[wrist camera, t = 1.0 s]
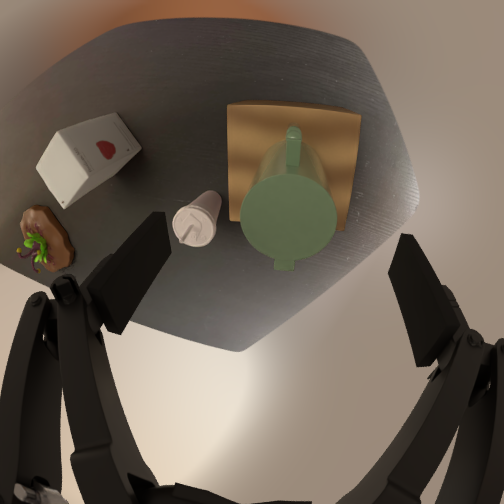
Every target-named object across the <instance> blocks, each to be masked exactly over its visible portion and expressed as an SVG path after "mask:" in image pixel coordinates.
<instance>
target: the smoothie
mask: <svg viewBox="0 0 504 504" xmlns="http://www.w3.org/2000/svg"><path fill="white" fill-rule="evenodd" d="M221 204H222V199H221V196H220V195H219V194H218V193H217V192H215V191H211V190H210V191H206V192H204V193H203V194H202V195H200V196H199V197H198V198H197V199H195V200H194V201H193V202H192V203H190V204H189V205H188V206H185V207H183V208H181V209H180V210H179V211H178V212H177V213H176V215H175V216H174V219H173V230H174V232H175V234H176V236H177V237H178V238H179V239H180V240H179V242H180V243H181V244H182V243H183V242H184V243H185V244H187V245H190V246H194V247H201V246H204V245H206V244H208V243H209V242H210V241H211V240H212V238H213V237H214V236H215V233H216V221H217V218H218V214H219V211H220V207H221Z"/></svg>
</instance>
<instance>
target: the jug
mask: <svg viewBox="0 0 504 504" xmlns="http://www.w3.org/2000/svg"><path fill="white" fill-rule="evenodd" d="M240 223H241V228H242V230H243V233H244V235H245V236H246V238H247V240H248V241H249V242H250V243H251V245H252V246H253V247H254V248H256V249H257V250H258V251H260V252H261V253H263V254H265V255H267V256H269V257H271V258H274V270H284V271H294V266H295V260H301V259H305V258H308V257H311V256H313V255H315V254H316V253H318V252H319V251H321V250H322V249H323V248H324V247H325V246H326V245H327V244H328V243H329V242H330V240H331V239H332V237H333V235H334V233H335V230H336V226H337V211H336V206H335V203H334V200H333V196H332V193H331V190H330V186H329V183H328V180H327V177H326V174H325V171H324V168H323V165H322V162H321V159H320V157H319V155H318V154H317V152H316V151H315V150H314V149H313V148H312V147H311V146H309V145H308V144H306V143H304V142H302V133H301V127H300V125H299V124H298V123H296V122H292V123H290V124H289V125H288V127H287V132H286V140H284V141H280V142H277V143H275V144H274V145H272V146H271V147H270V148H269V149H268V150H267V151H266V152H265V153H264V155H263V157H262V159H261V161H260V164H259V166H258V168H257V170H256V173H255V175H254V177H253V179H252V181H251V184H250V186H249V188H248V190H247V193H246V195H245V197H244V199H243V202H242V205H241V209H240Z"/></svg>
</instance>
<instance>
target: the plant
mask: <svg viewBox="0 0 504 504" xmlns="http://www.w3.org/2000/svg"><path fill="white" fill-rule="evenodd" d="M20 226H21V229H22V232H23V235H24V238H25V242H24V245H25V246H26V247H29V248H31V250H30V251H29V253H27V254H26V255H24V256H21V252H22V251H21V248H18V249H17V254H18V256H19V257H20V258H22V259H23V258H28V257H29V256H32V261H31V262H32V263H31V264H32V268H33V270H34V271H35V272H36V273H40V269H37V270H35V269H34V261H35V262H37V261H39V262H40V263H42V264H43V265H44V266H45V267H46V269H47V270H49V271H51V272H56V271H57V270H58V269H61V268H63V267H68V266H69V265H70V264H71V263H72V260H73V258H74V250H75V249H74V248H73V247H72V245H71V244H70V242H69V239H68V234H67V232H66V231H65V230H64V228H63V227H62V226H61V224H60V223H59V222H58V220H57V219H56V218H55V216H54V215H53V213H52V212H51V210H50V209H49V208H48V207H42V206H39V205H34V206H32V207H31V208H29V209H28V210H27V211H25V212H24V213H23V219H22V221H21V223H20Z"/></svg>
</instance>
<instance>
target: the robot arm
mask: <svg viewBox="0 0 504 504" xmlns="http://www.w3.org/2000/svg"><path fill="white" fill-rule="evenodd" d="M171 253H172V252H171V246H170V240H169V235H168V229H167V222H166V216H165V212H152V213H151V214H150V215H149V216H148V217H147V218H146V220H145V221H144V222H143V223H142V224H141V225H140V226H139V227H138V228H137V229H136V230H135V231H134V232H133V233H132V234H131V235H130V237H129V238H128V239H127V240H126V241H125V242H124V243H123V244H122V245H121V246H120V248H119V249H118V250H117V251H116V252H115V253H114V254H110V255H108V256H107V257H105V258H104V259H103V260H102V261H101V262H100V263H99V264H98V265H97V267H96V268H95V269H94V270H93V272H91V273H90V275H89V276H88V277H87V278H86V279H85V281H84V282H83V283H82V284H81V285H80V287H79V286H78V283H77V281H76V279H75V277H74V276H73V275H72V274H66V275H62V276H60V277H58V278H57V279H55V280H54V281H53V283H52V284H51V286H50V289H51V291H52V293H53V295H54V297H55V299H49V298H48V296H47V295H46V293H45V292H43V291H39V292H36V293H34V294H32V295H31V297H29V298H28V300H27V302H26V304H25V307H24V310H23V313H22V315H21V318H20V321H19V324H18V327H17V330H16V333H15V336H14V340H13V343H12V347H11V350H10V354H9V358H8V362H7V366H6V370H5V375H4V379H3V384H2V390H1V396H0V504H69V503H68V501H67V500H65V499H64V498H63V497H62V496H61V490H62V464H61V447H60V446H61V444H60V418H61V397H62V388H63V395H64V401H65V406H66V412H67V417H68V422H69V426H70V431H71V435H72V439H73V443H74V447H75V451H74V452H73V453H72V454H71V457H70V461H71V466H72V469H73V473H74V476H75V479H76V482H77V484H78V487H79V490H80V493H81V495H82V498H83V500H84V503H85V504H239V503H236V502H234V501H231V500H229V499H226V498H224V497H221V496H219V495H217V494H214V493H212V492H210V491H207V490H202V489H198V488H194V487H190V486H186V485H183V484H179V483H175V485H163V486H159V484H158V482H157V480H156V479H155V476H154V475H153V473H152V471H151V470H150V468H149V467H148V466H147V465H146V464H145V462H144V461H143V459H142V456H141V454H140V452H139V450H138V447H137V445H136V442H135V440H134V438H133V435H132V433H131V430H130V427H129V425H128V422H127V419H126V417H125V414H124V411H123V408H122V405H121V402H120V399H119V396H118V393H117V389H116V386H115V382H114V379H113V375H112V372H111V368H110V364H109V360H108V356H107V352H106V348H105V343H104V339H103V335H102V332H101V330H100V328H101V326H102V325H103V323H104V325H105V327H106V329H107V331H109V332H112V333H115V334H119V335H121V334H122V332H123V330H124V329H125V327H126V325H127V324H128V322H129V320H130V318H131V317H132V315H133V313H134V312H135V310H136V308H137V307H138V305H139V303H140V302H141V300H142V298H143V297H144V295H145V294H146V292H147V290H148V289H149V287H150V285H151V284H152V282H153V281H154V279H155V278H156V276H157V274H158V273H159V271H160V270H161V268H162V267H163V265H164V264H165V262H166V260H167V259H168V257H169V256H170V254H171ZM388 275H389V278H390V280H391V283H392V286H393V289H394V292H395V295H396V297H397V300H398V304H399V307H400V310H401V313H402V316H403V319H404V322H405V326H406V329H407V333H408V336H409V340H410V343H411V347H412V351H413V355H414V359H415V363H416V366H417V367H427V366H431V364H432V363H433V362H434V361H435V360H436V358H437V361H438V364H439V365H438V366H437V367H436V369H435V370H434V371H433V372H432V373H431V374H430V375H429V377H428V378H427V379H430V380H429V382H428V384H427V386H426V388H425V390H424V391H423V393H422V395H421V397H420V399H419V400H418V402H417V404H416V406H415V407H414V409H413V411H412V412H411V414H410V416H409V417H408V419H407V420H406V422H405V423H404V425H403V426H402V428H401V430H400V431H399V432H398V434H397V435H396V437H395V438H394V440H393V441H392V443H391V444H390V445H389V447H388V448H387V449H386V451H385V452H384V453H383V455H382V456H381V458H380V459H379V460H378V461H377V462H376V464H375V465H374V466H373V468H372V469H371V470H370V471H369V472H368V474H367V475H366V476H365V477H364V478H363V479H362V480H361V481H360V483H359V484H358V485H357V486H356V487H355V488H354V489H353V490H352V491H350V492H349V493H348V494H346V495H345V496H343V497H342V498H341V499H340V500H339V501H338V502H337V503H336V504H421V500H420V495H421V494H422V492H423V490H424V488H425V487H426V486H427V484H428V483H429V481H430V479H431V477H432V476H433V474H434V473H435V471H436V469H437V468H438V466H439V464H440V462H441V461H442V459H443V457H444V455H445V453H446V451H447V449H448V447H449V445H450V443H451V441H452V439H453V437H454V435H455V433H456V431H457V428H458V426H459V429H458V434H457V438H456V442H455V446H454V449H453V453H452V457H451V460H450V463H449V467H448V470H447V473H446V476H445V479H444V482H443V484H442V487H441V489H440V492H439V495H438V497H437V500H436V502H435V504H500V501H501V498H502V494H503V491H504V338H501V339H499V340H498V341H497V342H496V344H495V345H491V344H488V343H485V342H484V339H483V337H482V336H481V334H479V333H478V332H477V331H475V330H473V329H470V328H469V326H468V324H467V322H466V319H465V317H464V315H463V313H462V311H461V309H460V308H459V305H458V303H457V302H456V299H455V297H454V295H453V293H452V292H451V290H450V289H449V288H448V287H447V286H446V285H441V283H440V281H439V279H438V277H437V276H436V274H435V272H434V270H433V268H432V266H431V264H430V263H429V261H428V259H427V257H426V256H425V254H424V252H423V251H422V249H421V247H420V246H419V244H418V242H417V241H416V239H415V238H414V236H413V235H411V234H403V233H401V235H400V239H399V242H398V245H397V248H396V251H395V254H394V257H393V260H392V263H391V266H390V268H389V271H388ZM43 334H44V340H43ZM489 384H490V388H489ZM253 504H312V501H305V502H304V501H271V502H263V503H253Z"/></svg>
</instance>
